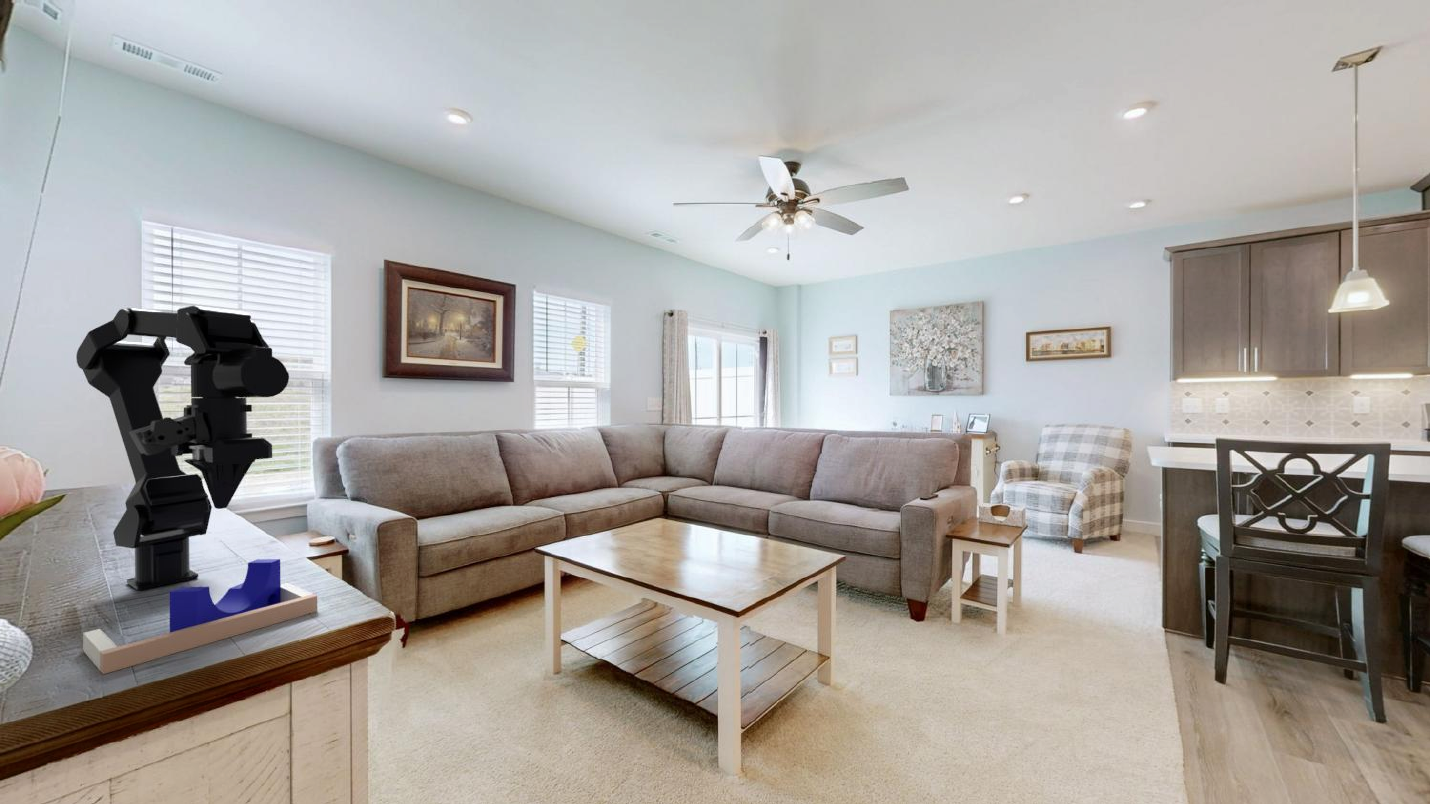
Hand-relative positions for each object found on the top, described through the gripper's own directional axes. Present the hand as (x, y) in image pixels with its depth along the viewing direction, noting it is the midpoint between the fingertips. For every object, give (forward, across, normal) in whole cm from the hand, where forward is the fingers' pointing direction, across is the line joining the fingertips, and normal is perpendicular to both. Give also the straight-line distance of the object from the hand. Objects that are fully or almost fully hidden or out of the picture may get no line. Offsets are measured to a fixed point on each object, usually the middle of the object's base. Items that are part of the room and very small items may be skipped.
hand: (220, 508), depth 75 cm
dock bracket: (+12, +14, -5) cm, 19 cm away
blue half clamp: (+12, +13, -3) cm, 18 cm away
